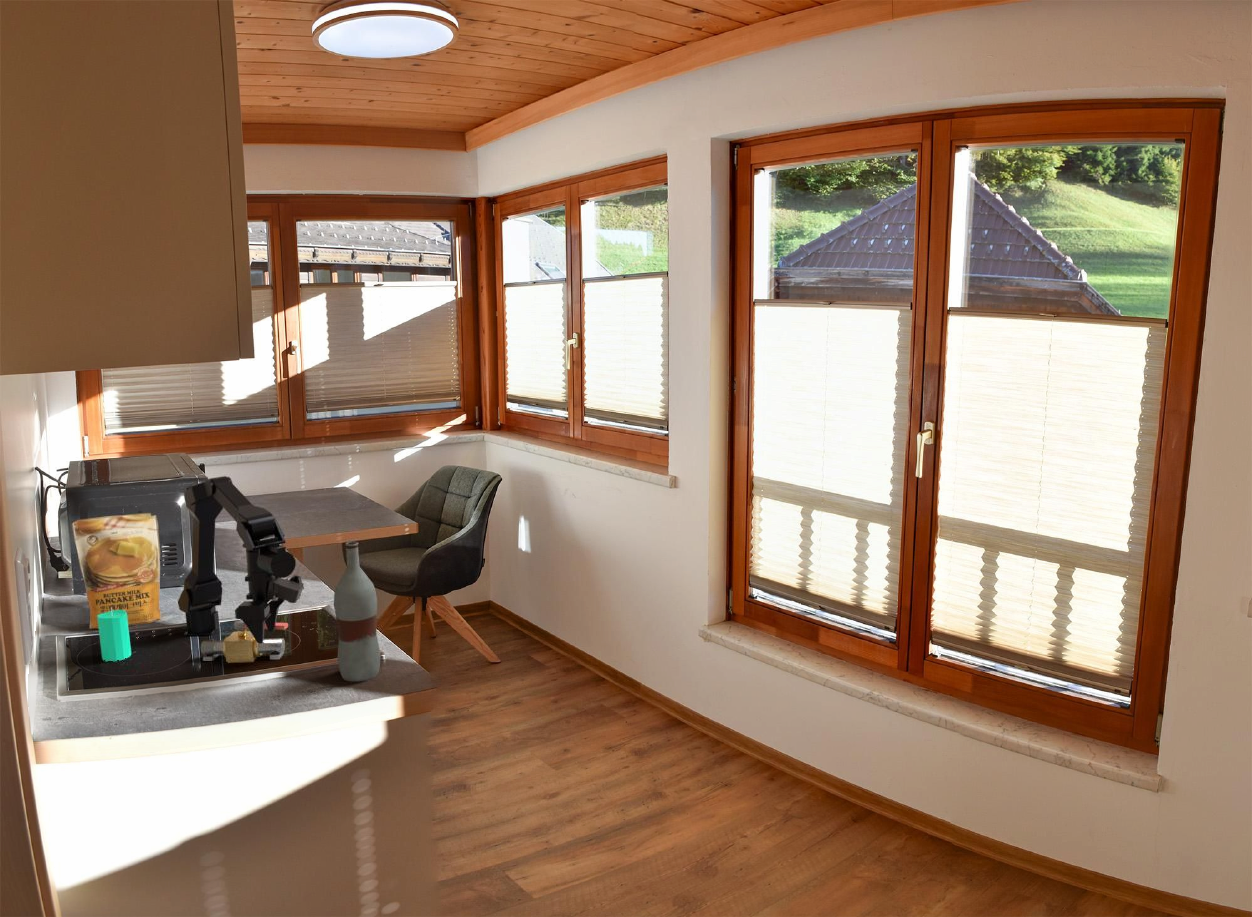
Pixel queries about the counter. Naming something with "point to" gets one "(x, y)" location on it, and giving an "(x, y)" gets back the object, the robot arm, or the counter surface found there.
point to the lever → (241, 625)
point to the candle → (114, 635)
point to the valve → (242, 648)
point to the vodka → (356, 621)
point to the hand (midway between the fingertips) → (266, 637)
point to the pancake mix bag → (120, 565)
